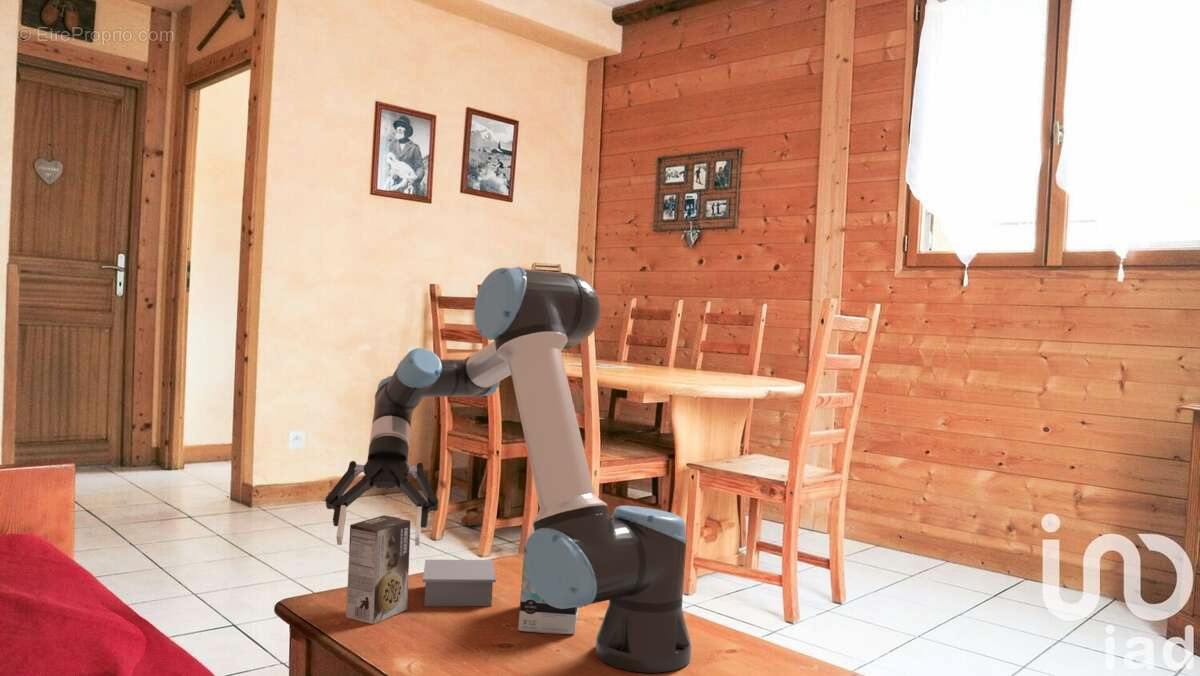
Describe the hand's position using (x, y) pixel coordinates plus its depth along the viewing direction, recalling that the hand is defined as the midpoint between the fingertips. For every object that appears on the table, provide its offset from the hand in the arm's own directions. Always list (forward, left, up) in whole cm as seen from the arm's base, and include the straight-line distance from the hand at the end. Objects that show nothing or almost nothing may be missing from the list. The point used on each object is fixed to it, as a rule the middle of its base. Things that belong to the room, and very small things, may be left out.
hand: (378, 541), depth 154 cm
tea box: (-7, -31, -12) cm, 34 cm away
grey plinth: (+6, -15, -12) cm, 19 cm away
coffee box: (-4, -1, -12) cm, 13 cm away
